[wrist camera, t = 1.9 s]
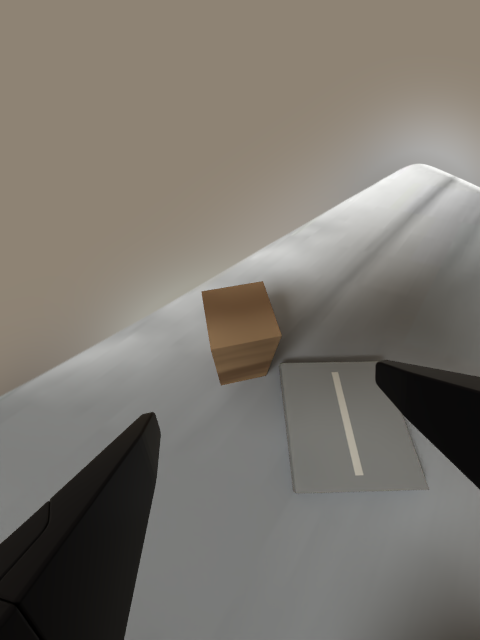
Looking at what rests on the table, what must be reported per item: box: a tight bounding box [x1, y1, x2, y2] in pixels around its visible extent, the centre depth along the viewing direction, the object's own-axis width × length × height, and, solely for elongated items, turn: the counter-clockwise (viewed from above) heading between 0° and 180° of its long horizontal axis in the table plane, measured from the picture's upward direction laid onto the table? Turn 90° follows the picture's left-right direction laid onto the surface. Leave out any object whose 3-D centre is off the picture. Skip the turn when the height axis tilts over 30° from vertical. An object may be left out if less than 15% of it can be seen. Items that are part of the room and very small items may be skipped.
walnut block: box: [202, 281, 282, 385], centre depth 19 cm, size 4×4×9 cm
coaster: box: [279, 361, 429, 494], centre depth 19 cm, size 10×10×1 cm
